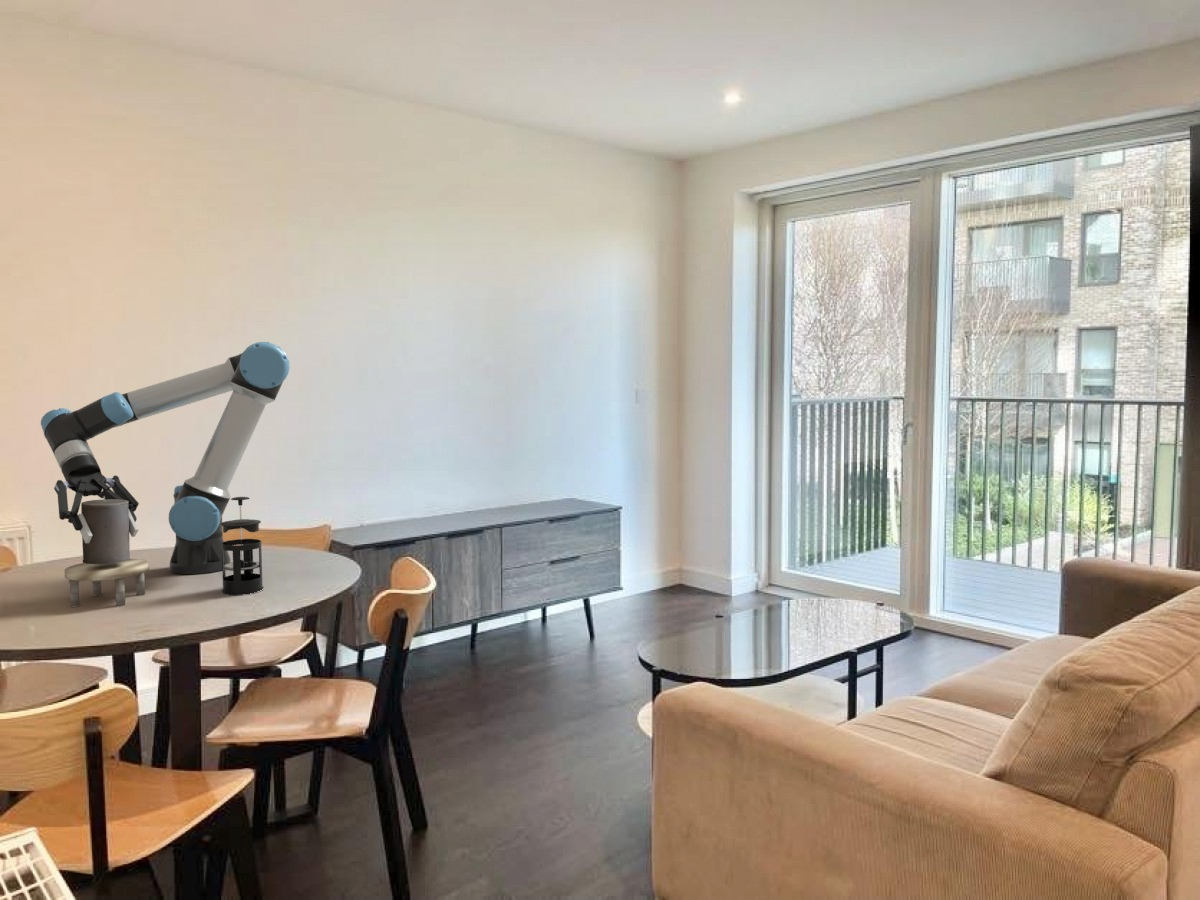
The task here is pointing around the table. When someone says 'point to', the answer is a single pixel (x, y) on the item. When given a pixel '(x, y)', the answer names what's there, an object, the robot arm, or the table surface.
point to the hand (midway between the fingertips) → (112, 536)
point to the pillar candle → (106, 531)
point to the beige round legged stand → (106, 577)
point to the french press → (242, 558)
